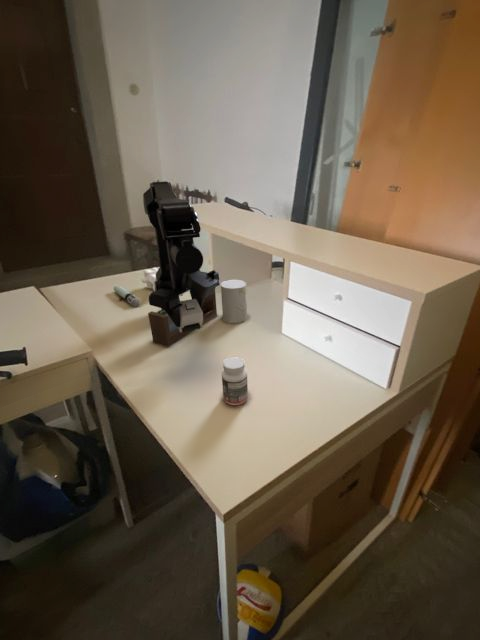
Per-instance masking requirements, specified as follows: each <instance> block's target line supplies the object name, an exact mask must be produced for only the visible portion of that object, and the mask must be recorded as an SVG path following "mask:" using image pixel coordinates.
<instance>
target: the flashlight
mask: <svg viewBox="0 0 480 640" xmlns="http://www.w3.org/2000/svg"><path fill="white" fill-rule="evenodd" d="M113 291H114V292H115V293H116V294H117V295H118V296H119V297H120V298H119V299H118V300H119V301H122V300H124V301H125V302H127V303H128V304H130V305H131V306H132V307H134V308H135V307H136V308H137V307H139V306H140V304H141V301H140V299H139V298H138V297H136V296H135V295H134V294H132V293H131V292H129V291H128V290H126V289H125V288H123V287H121V286H119V285H114V286H113Z"/></svg>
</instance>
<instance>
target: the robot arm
mask: <svg viewBox="0 0 480 640" xmlns="http://www.w3.org/2000/svg"><path fill="white" fill-rule="evenodd" d="M142 196H143V197H142V198H143V199H142V202H143V209H144V214H145V215H147V217H148V220H149V223H150V224H151V226H152V227H153V228H154V233H155V240H156V250H157V257H158V258H157V259H158V266H159V268H157V269H158V271H157V273H156V281H154V284H155V291H154V290H153V291H152V292H150V293H149V295H148V296H147V297H148V302H149V306H152V307H156V308H159V309H160V310H158V312H157V313H160V312H161V311H163V310H165V312H166V313H167V314H168V316H169V317H170V318H171V320H172V321H173V323H174V324H175V326H176V327H180V312H179V309H180V307H181V306H182V305H183V304H181V303H179V302H180V301H181V299H180V296H181V297H183V295H185V294H186V293H188V292H189V294H190V297H191V299H196V300H197V302H198V304H199V306H200V308H201V310H202V307H203V303H204V300H205V298H207V297H208V296H209V295H211V294H214V292H215V293H216V288H217V287H219V286H221V283H220V274H219V272H218V271H217V270H215V269H213V270H211V271H209V272H207V271H201V268H202V267H203V264H204V255H203V253H202V251H201V250H200V249H199V248H198V247H197V246H196V245H195V242H194V239H195V238H200V237H201V234H200V233H201V230H202V228H201V225H200V221H199V218H198V214H197V211H195V208H194V207H193V206H192V205H191V203H190V202H189V201H188V200H186V199H183V198H178V196H177V194H176V192H175V191H174V189H173V185H172V183H171V182H170V181H167V180H166V181H152V182H150V183H149V188H147V190H146V191H144V192H143V194H142Z"/></svg>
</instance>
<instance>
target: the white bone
mask: <svg viewBox="0 0 480 640" xmlns="http://www.w3.org/2000/svg"><path fill="white" fill-rule="evenodd" d="M158 269H159V268H157V267H152V268H151V269H144V270H143V276H142V278H141V282H142V283H143V284H146V287H147V288H148V289H149V290H150V289H151V290H153V292H154V291H155V284H154V281H156V273H157V271H158Z"/></svg>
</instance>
